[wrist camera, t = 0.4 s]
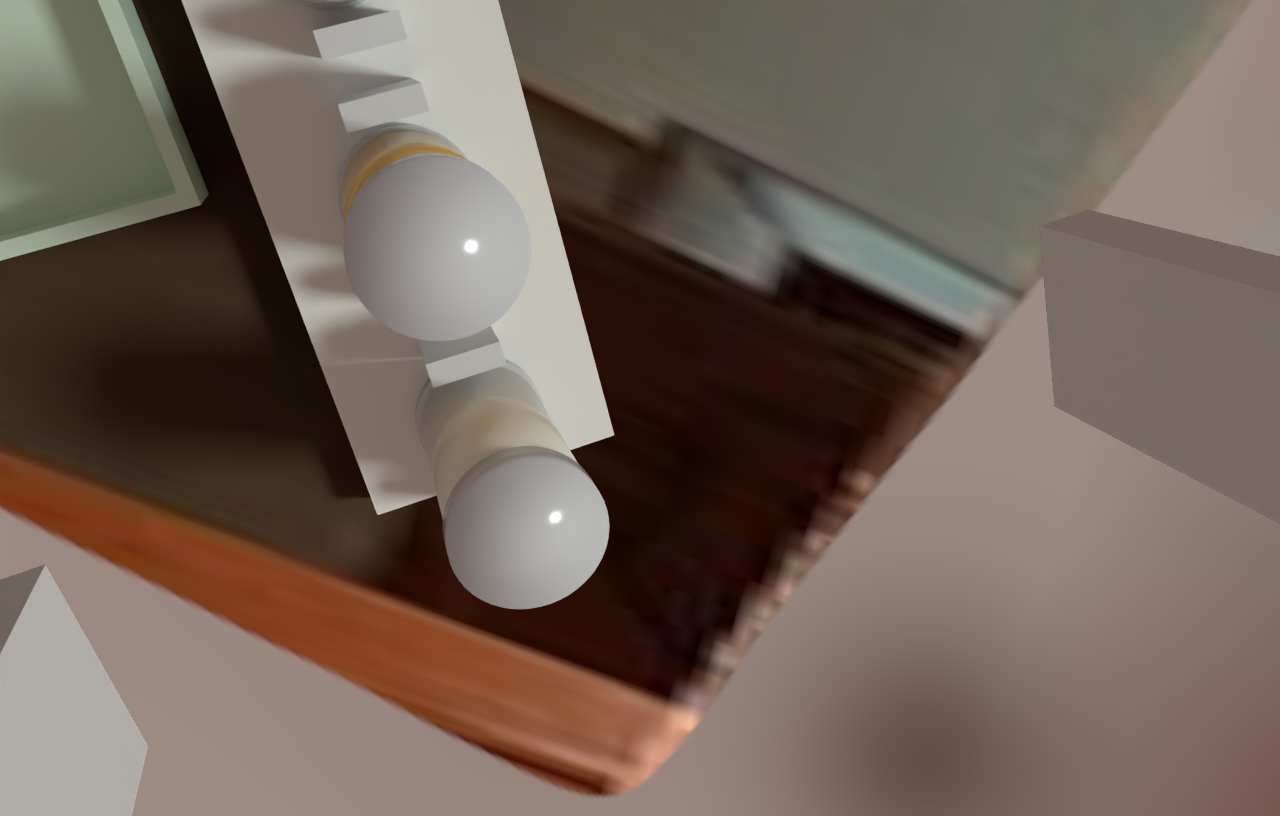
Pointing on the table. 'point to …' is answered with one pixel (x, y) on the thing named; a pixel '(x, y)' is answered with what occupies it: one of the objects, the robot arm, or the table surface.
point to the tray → (84, 125)
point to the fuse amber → (429, 235)
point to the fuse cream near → (330, 3)
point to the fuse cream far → (509, 490)
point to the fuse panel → (313, 226)
